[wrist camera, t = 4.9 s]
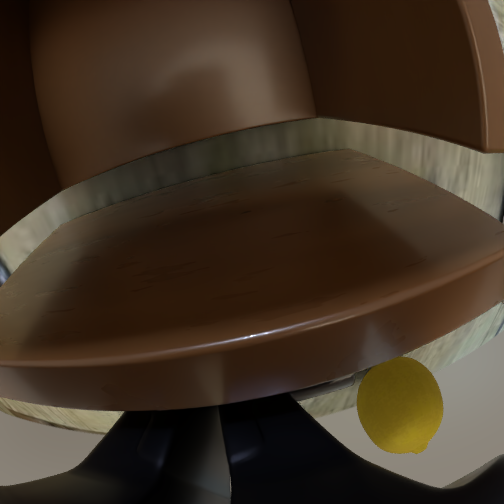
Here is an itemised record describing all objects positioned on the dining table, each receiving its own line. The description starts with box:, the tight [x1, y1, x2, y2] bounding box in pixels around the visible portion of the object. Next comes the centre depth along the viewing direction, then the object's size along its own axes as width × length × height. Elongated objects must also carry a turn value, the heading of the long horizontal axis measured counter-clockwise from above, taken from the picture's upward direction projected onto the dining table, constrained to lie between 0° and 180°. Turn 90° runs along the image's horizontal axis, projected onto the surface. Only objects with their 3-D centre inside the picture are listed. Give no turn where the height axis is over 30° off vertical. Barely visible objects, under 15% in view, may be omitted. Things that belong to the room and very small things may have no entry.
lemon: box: [357, 357, 443, 454], centre depth 13 cm, size 6×6×8 cm
